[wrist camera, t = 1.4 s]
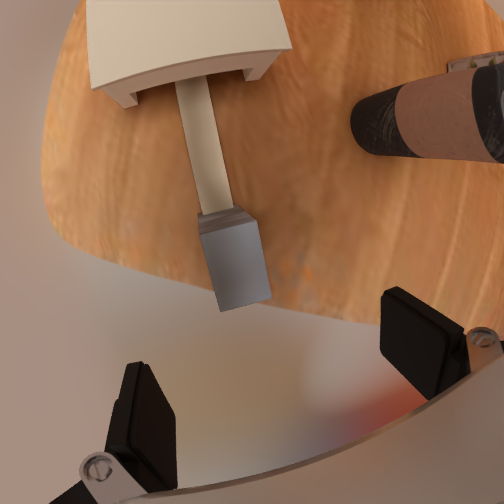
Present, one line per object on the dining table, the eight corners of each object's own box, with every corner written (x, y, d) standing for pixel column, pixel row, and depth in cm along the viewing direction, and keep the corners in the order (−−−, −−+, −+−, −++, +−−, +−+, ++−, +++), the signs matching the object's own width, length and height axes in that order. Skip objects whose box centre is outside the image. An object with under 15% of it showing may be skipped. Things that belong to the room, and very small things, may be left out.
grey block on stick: (204, 54, 24) (210, 7, 15) (248, 259, 31) (272, 298, 22) (166, 62, 24) (155, 17, 14) (211, 268, 31) (220, 312, 21)
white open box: (239, -9, 22) (257, -57, 13) (262, 81, 26) (292, 48, 17) (110, 17, 20) (87, -27, 11) (121, 112, 24) (91, 89, 15)
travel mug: (393, 165, 32) (536, 183, 13) (342, 145, 30) (497, 141, 11) (402, 110, 30) (537, 96, 11) (353, 86, 28) (493, 40, 9)
